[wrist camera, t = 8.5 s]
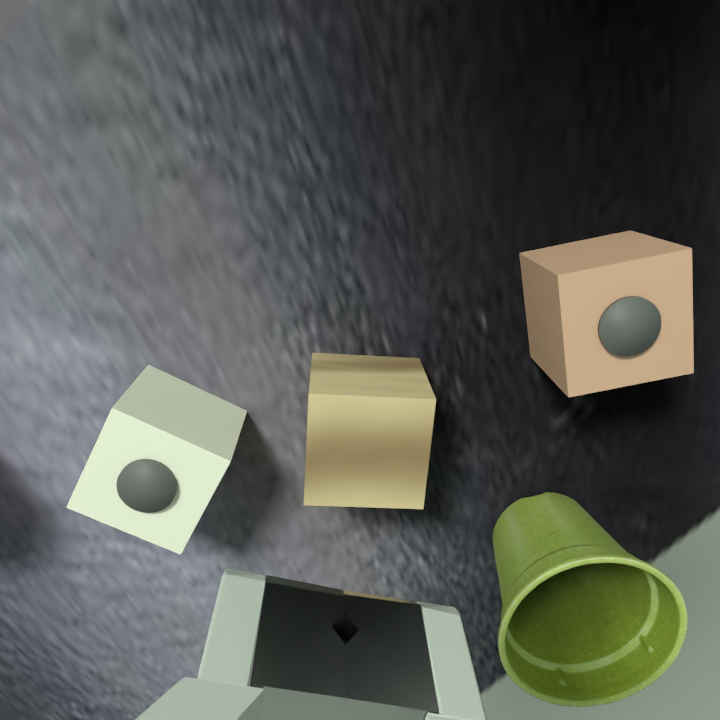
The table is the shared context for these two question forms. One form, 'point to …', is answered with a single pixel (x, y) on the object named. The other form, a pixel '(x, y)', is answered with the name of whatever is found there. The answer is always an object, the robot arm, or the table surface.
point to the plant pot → (580, 607)
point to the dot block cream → (158, 459)
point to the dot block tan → (609, 311)
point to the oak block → (368, 432)
